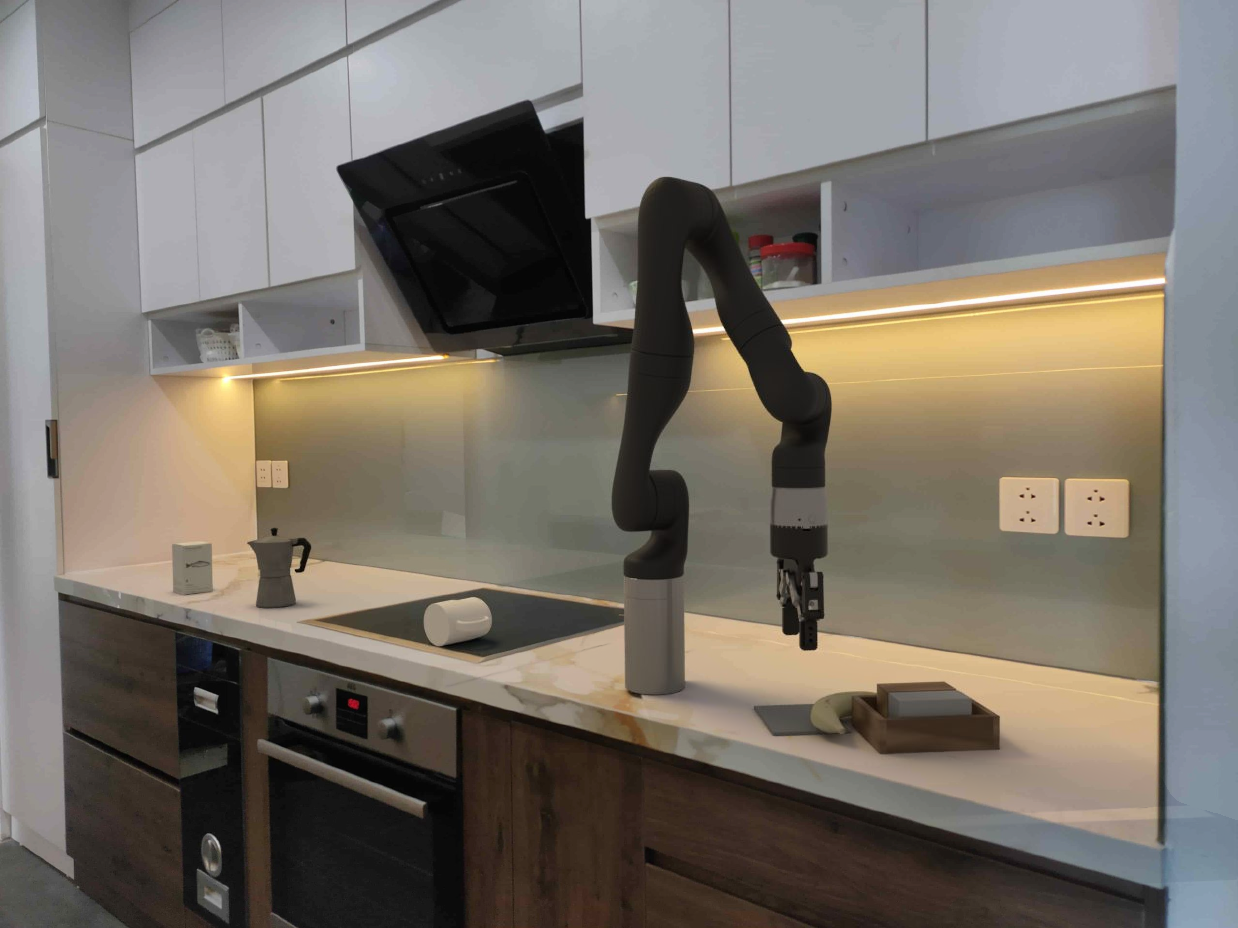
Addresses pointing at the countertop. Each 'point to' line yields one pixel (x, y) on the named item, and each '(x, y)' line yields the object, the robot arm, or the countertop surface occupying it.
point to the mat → (790, 719)
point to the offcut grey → (929, 704)
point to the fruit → (834, 711)
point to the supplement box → (192, 567)
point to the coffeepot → (277, 568)
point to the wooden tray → (925, 729)
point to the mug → (457, 621)
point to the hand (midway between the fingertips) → (799, 641)
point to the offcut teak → (888, 688)
